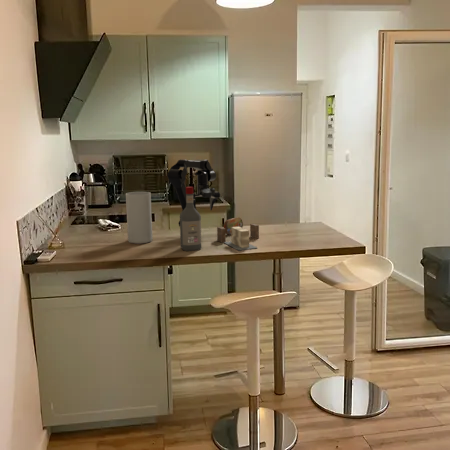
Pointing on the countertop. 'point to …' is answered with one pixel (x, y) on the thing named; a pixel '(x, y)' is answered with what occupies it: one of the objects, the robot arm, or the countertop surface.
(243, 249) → the mat
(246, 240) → the block
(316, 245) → the countertop surface
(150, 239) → the cylinder vase
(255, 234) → the holder
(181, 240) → the liquor
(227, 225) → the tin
